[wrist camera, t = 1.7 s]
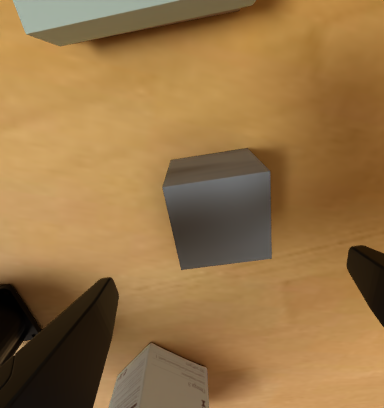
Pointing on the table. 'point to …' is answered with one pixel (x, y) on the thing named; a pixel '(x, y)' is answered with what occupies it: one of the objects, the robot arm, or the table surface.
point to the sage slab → (109, 16)
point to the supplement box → (161, 382)
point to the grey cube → (219, 208)
